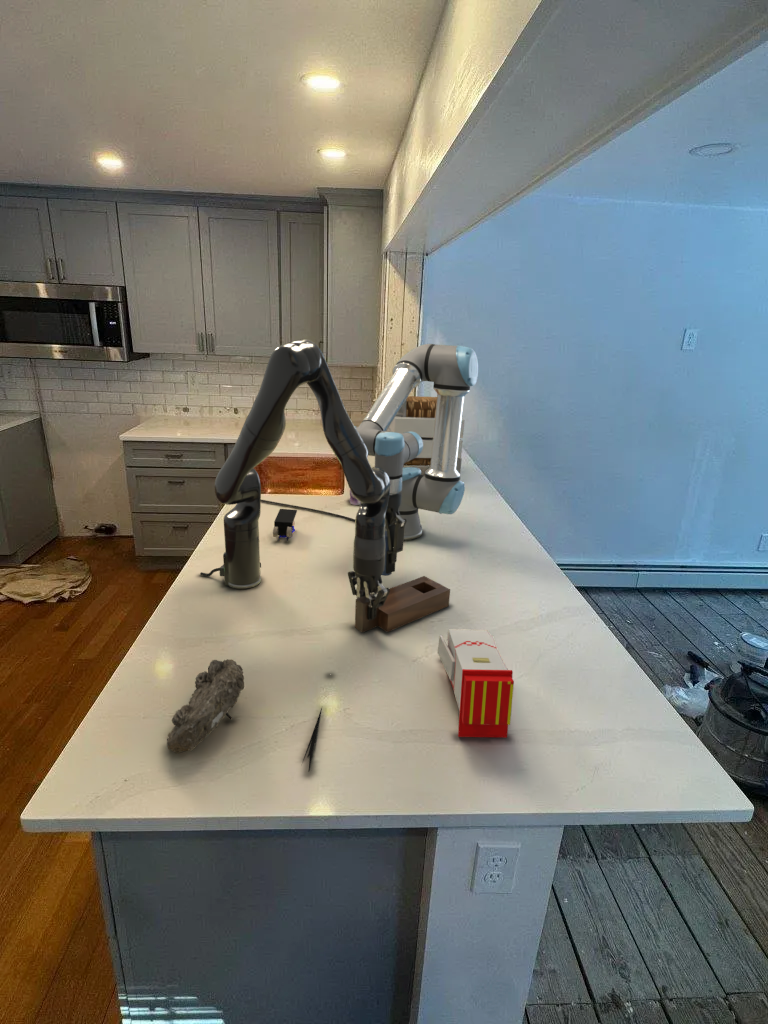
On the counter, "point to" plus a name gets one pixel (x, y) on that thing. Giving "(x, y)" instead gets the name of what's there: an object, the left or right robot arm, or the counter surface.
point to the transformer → (421, 427)
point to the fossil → (206, 705)
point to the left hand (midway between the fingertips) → (366, 615)
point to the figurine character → (284, 523)
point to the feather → (313, 740)
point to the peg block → (403, 605)
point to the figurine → (353, 499)
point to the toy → (478, 682)
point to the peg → (386, 554)
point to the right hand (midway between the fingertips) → (384, 568)
